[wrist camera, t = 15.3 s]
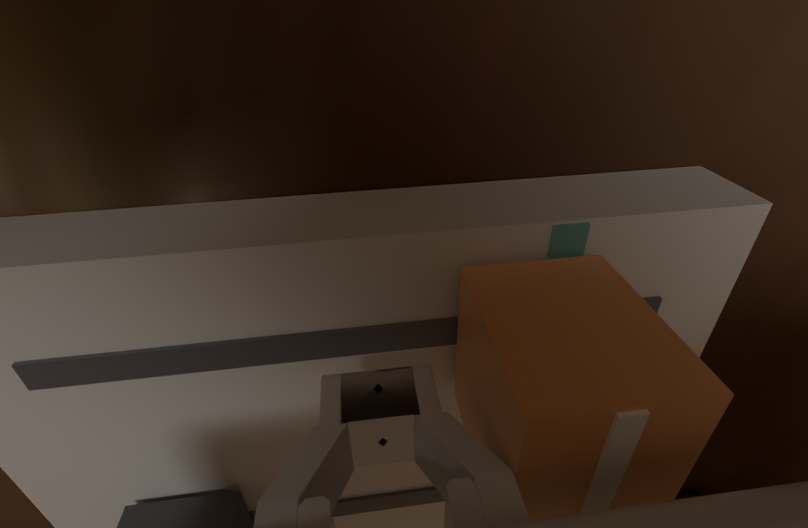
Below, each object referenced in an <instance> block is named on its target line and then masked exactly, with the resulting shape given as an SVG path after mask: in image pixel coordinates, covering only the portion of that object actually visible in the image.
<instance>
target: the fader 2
mask: <svg viewBox="0 0 808 528" xmlns="http://www.w3.org/2000/svg"><path fill="white" fill-rule="evenodd" d="M454 393H455V397H456V401H457V404H458V408H459V411H460V415H461V418H462V422H463V425H464V427H465V428H466V429H467V430H468V431H469V432H470V433H471V434H473V435H474V436H475V437H476V438H477V439H478V440H479V441H480V442H481V443H483V444H484V445H485V446H486V447H487V448H488V449H489V450H490V451H491V452H493V453H494V454H495V455H496V456H497V457H498V458H499V459H500V460H501V461H502V462H504V463H505V464H506V465H507V466H508V467H509V468H510V469H511V470H512V471H513V474H514V477H515V480H516V483H517V485H518V488H519V491H520V494H521V497H522V500H523V502H524V505H525V508H526V511H527V514H528V517H529V519H530V520H537V519H544V518H551V517H558V516H565V515H572V514H579V513H586V512H593V511H600V510H607V509H614V508H621V507H628V506H635V505H642V504H649V503H656V502H663V501H670V500H674V499H675V498H676V496H677V494H678V492H679V491H680V489H681V487H682V485H683V484H684V482H685V480H686V478H687V477H688V475H689V473H690V471H691V470H692V468H693V466H694V464H695V463H696V461H697V459H698V457H699V456H700V454H701V452H702V451H703V449H704V447H705V445H706V444H707V442H708V440H709V438H710V437H711V435H712V433H713V431H714V430H715V428H716V426H717V424H718V423H719V421H720V419H721V417H722V416H723V414H724V412H725V410H726V409H727V407H728V405H729V403H730V402H731V400H732V398H733V396H734V394H733V393H732V392H731V390H730V389H729V388H728V387H727V386H726V385H725V384H724V383H723V382H722V381H721V380H720V379H719V378H718V377H717V376H716V375H715V374H714V373H713V372H712V371H711V369H710V368H709V367H708V366H707V365H706V364H705V363H704V362H703V361H702V360H701V359H700V358H699V357H698V356H697V355H696V354H695V353H694V352H693V351H692V350H691V348H690V347H689V346H688V345H687V344H686V343H685V342H684V341H683V340H682V339H681V338H680V337H679V336H678V335H677V334H676V333H675V332H674V331H673V330H672V329H671V327H670V326H669V325H668V324H667V323H666V322H665V321H664V320H663V319H662V318H661V317H660V316H659V315H658V314H657V313H656V312H655V311H654V310H653V309H652V308H651V306H650V305H649V304H648V303H647V302H646V301H645V300H644V299H643V298H642V297H641V296H640V295H639V294H638V293H637V292H636V291H635V290H634V289H633V288H632V287H631V286H630V284H629V283H628V282H627V281H626V280H625V279H624V278H623V277H622V276H621V275H620V274H619V273H618V272H617V271H616V270H615V269H614V268H613V267H612V266H611V265H610V263H609V262H608V261H607V260H606V259H605V258H604V257H603V256H602V255H601V254H599V255H588V256H577V257H566V258H555V259H544V260H533V261H523V262H512V263H501V264H490V265H479V266H468V267H461V277H460V295H459V312H458V330H457V348H456V366H455V383H454Z"/></svg>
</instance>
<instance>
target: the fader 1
mask: <svg viewBox="0 0 808 528" xmlns="http://www.w3.org/2000/svg"><path fill="white" fill-rule="evenodd" d="M253 526H254V524H253V521H252V519H251V516H250V514H249V512H248V509H247V507H246V504H245V502H244V499H243V497H242V494H241V492H240V491H232V492H225V493H217V494H210V495H202V496H195V497H187V498H180V499H172V500H165V501H157V502H150V503H142V504H135V505H128V506H125V508H124V511H123V513H122V516H121V518H120V521H119V523H118V526H117V528H253Z"/></svg>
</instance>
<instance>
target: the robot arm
mask: <svg viewBox="0 0 808 528" xmlns="http://www.w3.org/2000/svg"><path fill="white" fill-rule="evenodd" d="M405 461H415V463H416V464H417V465H418V467H419V468H420V469H421V470H422V472H423V473H424V474H425V475H426V477H427V478H428V479H429V480H430V482H431V483H432V484H433V485H434V487H435V488H436V489H437V490H438V492H439V493H440V494H441V495H442V497H443V498H444V499H445V512H444V527H443V528H808V481H803V482H796V483H789V484H782V485H775V486H768V487H761V488H754V489H747V490H740V491H733V492H726V493H719V494H712V495H705V496H698V497H691V498H684V499H677V500H670V501H663V502H656V503H649V504H642V505H635V506H628V507H621V508H614V509H607V510H600V511H593V512H586V513H579V514H572V515H565V516H558V517H551V518H544V519H537V520H530V519H529V517H528V514H527V511H526V508H525V505H524V502H523V500H522V497H521V494H520V491H519V488H518V485H517V483H516V480H515V477H514V474H513V471H512V470H511V469H510V468H509V467H508V466H507V465H506V464H505V463H504V462H502V461H501V460H500V459H499V458H498V457H497V456H496V455H495V454H494V453H493V452H491V451H490V450H489V449H488V448H487V447H486V446H485V445H484V444H483V443H481V442H480V441H479V440H478V439H477V438H476V437H475V436H474V435H473V434H471V433H470V432H469V431H468V430H467V429H466V428H465V427H464V426H463V425H461V424H460V423H459V422H458V421H457V420H456V419H455V418H454V417H453V416H451V415H450V414H449V413H448V412H442V411H441V407H440V403H439V399H438V395H437V390H436V386H435V382H434V378H433V374H432V370H431V366H430V365H429V364H425V365H416V366H411V367H410V366H407V367H398V368H389V369H381V370H375V371H363V372H350V373H342V374H330V375H322V379H321V395H320V418H319V426H318V427H313V429H312V430H311V431H310V433H309V434H308V435H307V437H306V438H305V439H304V441H303V442H302V443H301V445H300V446H299V447H298V449H297V450H296V451H295V453H294V454H293V455H292V457H291V458H290V459H289V461H288V462H287V463H286V465H285V466H284V467H283V469H282V470H281V471H280V473H279V474H278V475H277V477H276V478H275V480H274V481H273V482H272V484H271V485H270V486H269V488H268V489H267V490H266V492H265V493H264V494H263V496H262V497H261V498H260V500H259V501H258V502H257V507H256V513H255V519H254V526H253V528H335V525H334V520H333V515H332V512H333V510H334V508H335V506H336V504H337V502H338V500H339V498H340V496H341V494H342V492H343V490H344V489H345V487H346V485H347V483H348V481H349V479H350V477H351V475H352V473H353V471H354V468H358V467H365V466H371V465H378V464H385V463H395V462H405Z"/></svg>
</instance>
